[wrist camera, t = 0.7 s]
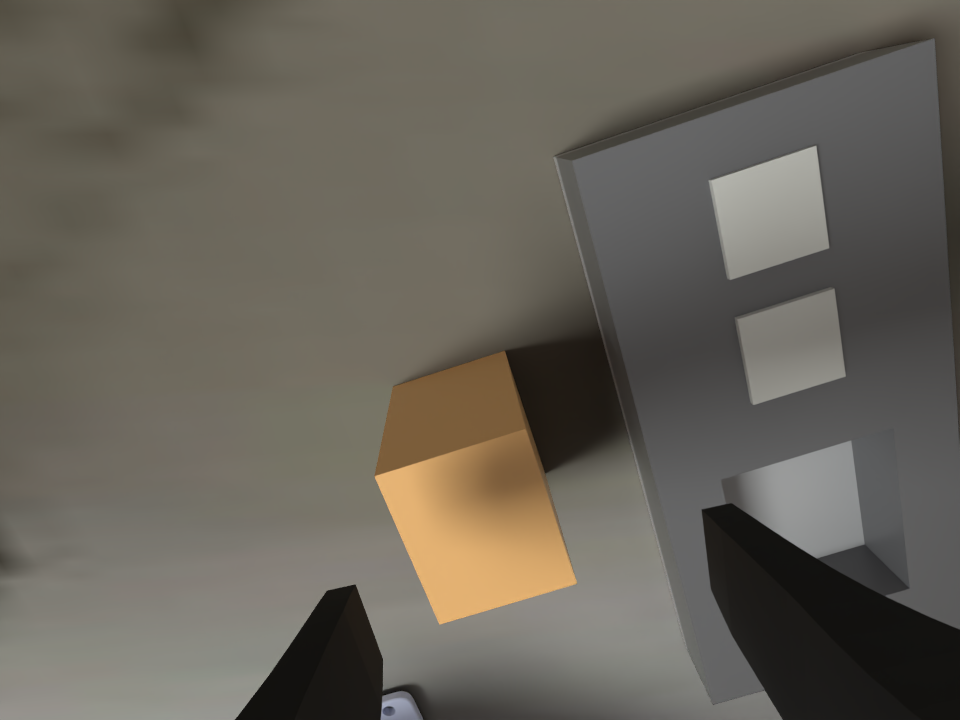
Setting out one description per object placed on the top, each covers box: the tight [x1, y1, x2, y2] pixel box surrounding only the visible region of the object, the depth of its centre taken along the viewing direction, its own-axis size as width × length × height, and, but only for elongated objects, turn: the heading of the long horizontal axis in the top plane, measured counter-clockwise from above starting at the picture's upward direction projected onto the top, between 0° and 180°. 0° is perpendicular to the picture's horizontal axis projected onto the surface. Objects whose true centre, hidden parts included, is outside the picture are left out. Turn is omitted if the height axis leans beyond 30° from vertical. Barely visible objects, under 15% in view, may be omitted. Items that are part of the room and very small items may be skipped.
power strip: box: [554, 38, 960, 705], centre depth 21 cm, size 10×20×3 cm, turn 18°
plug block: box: [375, 351, 577, 624], centre depth 20 cm, size 4×5×6 cm
